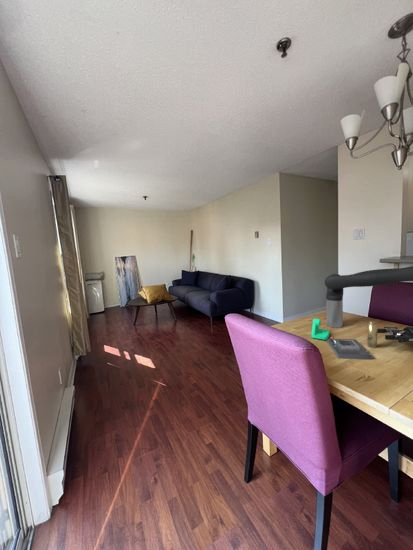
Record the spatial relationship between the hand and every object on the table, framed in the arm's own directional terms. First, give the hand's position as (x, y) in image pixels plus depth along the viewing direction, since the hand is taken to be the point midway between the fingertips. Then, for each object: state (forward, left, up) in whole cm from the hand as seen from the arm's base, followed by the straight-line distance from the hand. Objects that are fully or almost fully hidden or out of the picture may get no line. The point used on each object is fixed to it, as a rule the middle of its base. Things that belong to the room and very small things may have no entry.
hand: (380, 333), depth 115 cm
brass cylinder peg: (0, -4, -7) cm, 8 cm away
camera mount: (-12, -25, -7) cm, 28 cm away
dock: (+5, -17, -7) cm, 19 cm away
